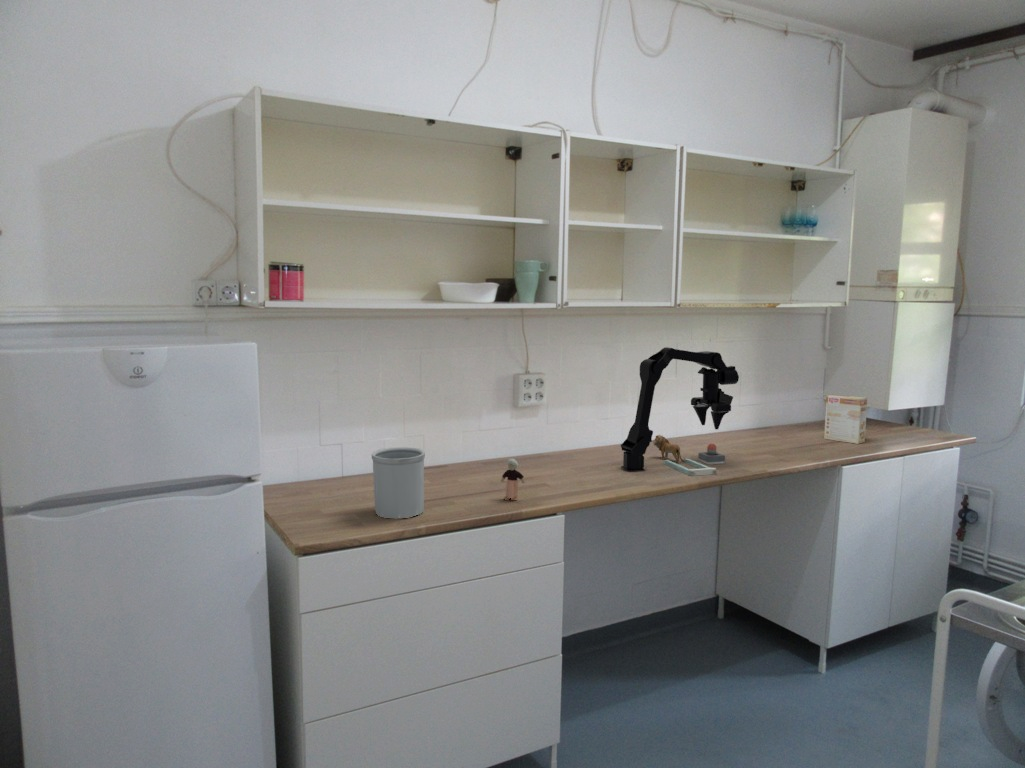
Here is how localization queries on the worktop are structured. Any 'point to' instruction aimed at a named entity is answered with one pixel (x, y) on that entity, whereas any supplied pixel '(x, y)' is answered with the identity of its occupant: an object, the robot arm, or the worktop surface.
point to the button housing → (711, 458)
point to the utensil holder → (398, 482)
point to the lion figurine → (667, 448)
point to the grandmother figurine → (512, 480)
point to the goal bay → (692, 472)
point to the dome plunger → (711, 449)
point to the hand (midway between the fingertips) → (709, 427)
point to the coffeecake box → (845, 418)
